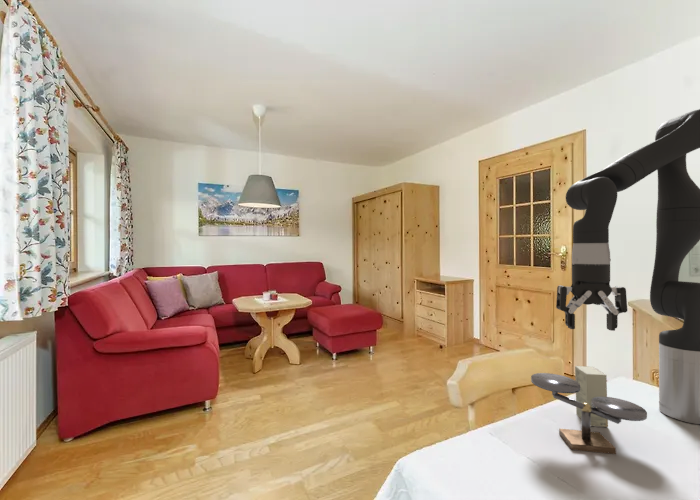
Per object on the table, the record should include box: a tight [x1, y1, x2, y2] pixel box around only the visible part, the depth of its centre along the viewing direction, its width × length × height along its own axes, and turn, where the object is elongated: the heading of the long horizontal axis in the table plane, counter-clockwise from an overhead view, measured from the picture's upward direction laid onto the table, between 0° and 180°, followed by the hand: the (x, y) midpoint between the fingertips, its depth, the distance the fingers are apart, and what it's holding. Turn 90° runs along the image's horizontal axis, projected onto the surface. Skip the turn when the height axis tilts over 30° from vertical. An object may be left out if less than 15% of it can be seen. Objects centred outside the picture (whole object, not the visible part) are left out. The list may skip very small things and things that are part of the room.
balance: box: [530, 372, 648, 455], centre depth 70 cm, size 21×9×13 cm, turn 79°
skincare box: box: [574, 365, 609, 428], centre depth 80 cm, size 6×4×12 cm
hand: (590, 329), depth 80 cm, fingers open, 8 cm apart
